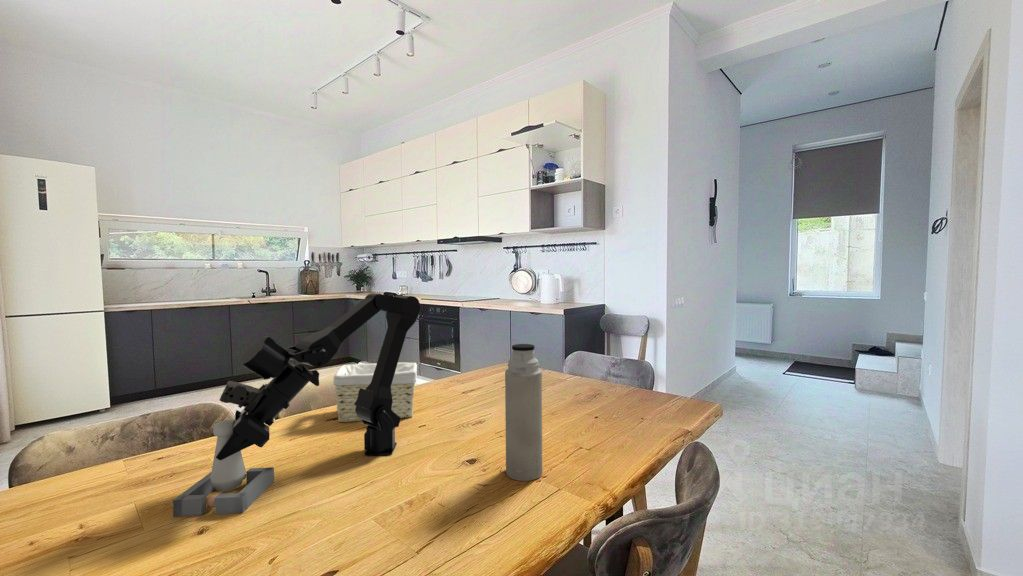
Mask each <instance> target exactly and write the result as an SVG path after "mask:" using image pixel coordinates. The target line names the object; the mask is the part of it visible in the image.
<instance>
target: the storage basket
mask: <svg viewBox="0 0 1023 576" xmlns="http://www.w3.org/2000/svg"><path fill="white" fill-rule="evenodd" d="M376 365H377V362H376V363H357V364H356V363H353V364H343V365H342V366H341V367H340V368H339V369H338V370H337V371H336V373H335V374H334V376H333V385H334V387H335V395H336V397H335V398H336V410H337V411H336V412H337V418H338V422H340V423H347V422H359V421H360V422H362V420H361V419H360V418H359V417H358V416H357V414H356V412H355V409H356V405H354V403H355V402H356V400H357V398H358V393H359V390H360V388H362V389H366V388H367V387H368V386H369V384H370V383H371V381H372V378H373V374H374V371H375V368H376ZM417 370H418V364H417V362H403V361H401V362H398V364H397V367H396V371H395V374H394V378H393V381H392V384H391V393H392V399H393V402H392V409H391V410H392V411H393V412H394V413H395V414H397V415H398V416H399V417H400V418H401V419H403V418H404V417H405V418H412V417H413V416H414V415H413V414H414V413H413V412H414V395H415V385H416V382H417V376H418V375H417V373H418V371H417ZM405 418H404V419H405Z"/></svg>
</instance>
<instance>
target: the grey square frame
mask: <svg viewBox="0 0 1023 576" xmlns="http://www.w3.org/2000/svg"><path fill="white" fill-rule="evenodd" d="M210 476H211V471H210V472H209V473H208V474H206V475H205V476H204V477H202V478H201V479H199V480H198V481H197V482H195V483H194V484H193V485H191V486H190V487H189V488H187V489H186V490H184V491H183V492H182V493H180V494H179V495H178V496H176V497H175V498H174V499H172V510H173V511H172V516H173V517H189V516H190V517H191V516H202V515H203V514H204V513H206V512H207V510H208V509H207V497H208V496H209V495H210V494H211V493H213V491H216V489H215V488H214V486H213V485H212V483H211V479H210ZM245 479H246V485H245V486H244V487H243V488H242V489H241V490H240V491H239V492H235V493H232V492H231V493H219V495H218V496H217V497H216V498H215V505H214V514H215V515H227V514H229V515H230V514H243V513H244V512H246V510H247V509H248V508H249V507H251V506H252V504H253V503H254V502H255V501H257V499H259V497H260V496H261V495H262V494H263V493H264V492H265V491H266V490H267V489H268V488H269V487H270V486H271V485H273V483H274V482H275V467H273V466H272V467H250V468H249V469H248V470H246V478H245Z"/></svg>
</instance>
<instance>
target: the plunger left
mask: <svg viewBox="0 0 1023 576" xmlns="http://www.w3.org/2000/svg"><path fill="white" fill-rule="evenodd" d="M219 494H220V493H218V492H217V493H214V494H212V495H211V496H209V498H207V499H206V505H207V506H208V507H215V498H216V497H217V496H218V495H219Z"/></svg>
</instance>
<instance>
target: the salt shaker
mask: <svg viewBox="0 0 1023 576" xmlns="http://www.w3.org/2000/svg"><path fill="white" fill-rule="evenodd" d="M233 421H235V422H236V421H237V420H235V418H234V419H233V418H232V419H224V420H221V421H218V422H217V423H215V424H214V425H213V427H212V432H213V435H214V436H213V437H217V438H216V446H215V449H214V450H215V451H214V455H213V461H212V466H211V471H210V472H211V476H210V479H211V483H212V485H213V486H214V488H215V491H216V492H221V493H225V492H230V491H234V490H236V489H238V488H239V487H240V486H241V485H242V484H243V481H244V480H245V479H244V476H245V474H246V471H247V470H246V467H245V462H244V459H243V455H242V450H241V451H239V452H237V453H235V454H233V455H231V456H229V457H227V458H225V459H223V460H218V459H217V458H216V456H217V454H218V453H219V452H220V450H221V449H222V447H223V446H224V445H225V443H226V442H227V440H228V439H229V438H230V436H231V435H232V433H233V428H232V425H233ZM243 479H244V480H243Z"/></svg>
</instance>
